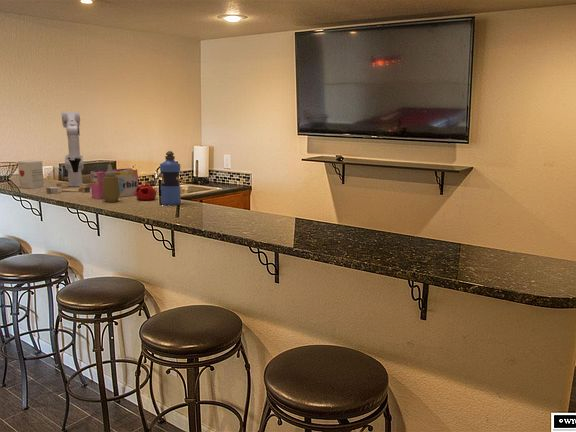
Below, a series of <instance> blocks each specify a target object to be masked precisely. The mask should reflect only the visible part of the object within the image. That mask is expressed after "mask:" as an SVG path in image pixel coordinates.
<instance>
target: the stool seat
mask: <svg viewBox="0 0 576 432" xmlns="http://www.w3.org/2000/svg"><path fill="white" fill-rule="evenodd" d="M68 184H69V183H68ZM68 184H66V183H62V182H60V183H56V187H58V186H61V187H62V192H65V193H70V192H71V193H72V192H73V193H75V192H80V193H85V194H86V193H87V194H88V193H90V192H91V182H89V183H84V184H82V186H70V187H69V186H68Z"/></svg>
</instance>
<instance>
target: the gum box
mask: <svg viewBox="0 0 576 432" xmlns="http://www.w3.org/2000/svg"><path fill="white" fill-rule="evenodd" d="M107 170H108V169H104V170H103V169H102V170H90V183H91V189H90V191H91V198H93V199H97V200H104V197H103V195H102V191H103V177H104V176H106V175H105V172H107ZM113 172H115V175H114V176H117V177H118V184H119V190H120V196H119V198H120V197H130V196H136V189H137V188H138V187H139V177H138V176H139V175H138V174H139V173H138V169H132V168H129V167H128V168H119V169H118V168H114V169H113Z"/></svg>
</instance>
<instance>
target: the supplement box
mask: <svg viewBox="0 0 576 432" xmlns="http://www.w3.org/2000/svg"><path fill="white" fill-rule="evenodd" d="M17 168H18V169H17V170H18V180H19V188H21V189H31V190H33V189H38V188H39V189H40V188H44V187H45V185H44V183H45V182H44V170H43V169H44V168H43V161H42V160H33V159H32V160H30V159H29V160H18V161H17Z"/></svg>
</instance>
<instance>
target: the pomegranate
mask: <svg viewBox="0 0 576 432" xmlns="http://www.w3.org/2000/svg"><path fill="white" fill-rule="evenodd" d="M151 185H152V186H151ZM153 185H154V184H148V181H145V182H144V184H143V183H141V185H138V188H137V189H136V195H135V197H136V198H137V200H138V201H153V200H155V199H156V197H157V191H156V189H155V188H154V187H153Z"/></svg>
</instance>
